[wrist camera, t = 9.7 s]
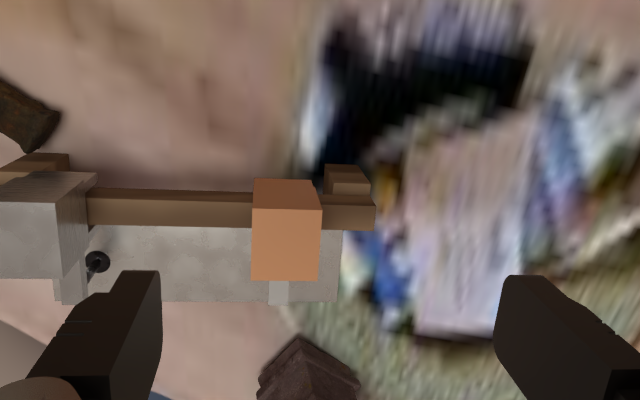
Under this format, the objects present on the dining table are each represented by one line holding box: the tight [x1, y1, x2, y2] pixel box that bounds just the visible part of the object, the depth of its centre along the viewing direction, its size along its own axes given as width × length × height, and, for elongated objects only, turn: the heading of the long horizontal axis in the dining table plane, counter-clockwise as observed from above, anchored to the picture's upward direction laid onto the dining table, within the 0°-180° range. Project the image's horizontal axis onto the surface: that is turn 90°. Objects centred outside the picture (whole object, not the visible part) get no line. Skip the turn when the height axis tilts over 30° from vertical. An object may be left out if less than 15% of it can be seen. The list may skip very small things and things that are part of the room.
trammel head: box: [250, 178, 323, 305], centre depth 38 cm, size 11×4×12 cm, turn 176°
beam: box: [0, 152, 376, 231], centre depth 40 cm, size 4×28×8 cm, turn 86°
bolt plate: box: [53, 225, 343, 302], centre depth 46 cm, size 8×26×1 cm, turn 86°
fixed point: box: [0, 171, 101, 305], centre depth 36 cm, size 11×4×12 cm, turn 176°
